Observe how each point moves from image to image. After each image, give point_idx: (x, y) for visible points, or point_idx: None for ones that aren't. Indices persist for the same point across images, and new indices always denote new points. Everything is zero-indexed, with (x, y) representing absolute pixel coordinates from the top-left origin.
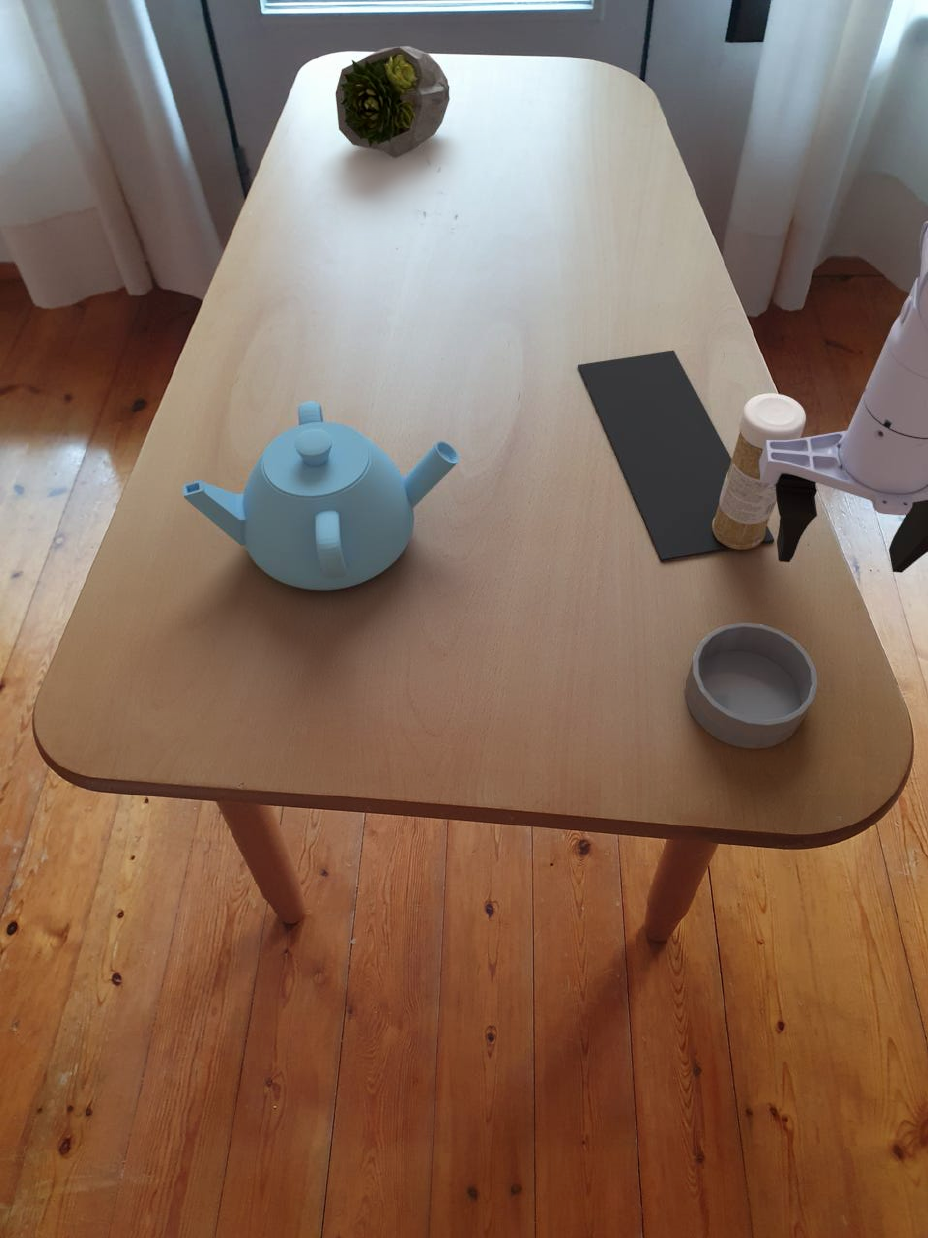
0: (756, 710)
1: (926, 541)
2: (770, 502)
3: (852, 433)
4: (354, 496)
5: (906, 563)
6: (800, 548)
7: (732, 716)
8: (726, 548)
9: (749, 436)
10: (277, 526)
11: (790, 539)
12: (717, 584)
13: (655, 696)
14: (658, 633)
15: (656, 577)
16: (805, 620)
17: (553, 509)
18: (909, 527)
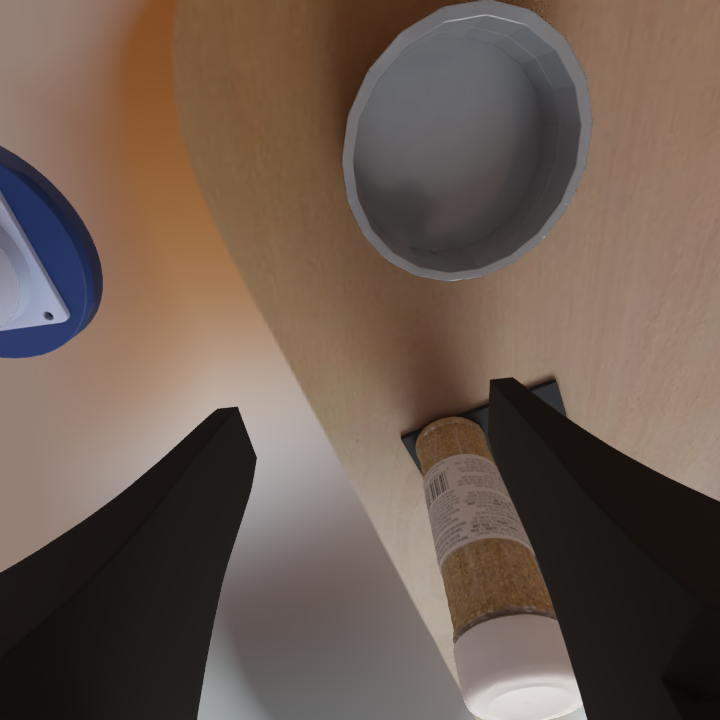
0: (428, 125)
1: (131, 518)
2: (445, 495)
3: None
4: None
5: (204, 431)
6: (366, 434)
7: (523, 10)
8: (464, 415)
9: None
10: None
11: (572, 435)
12: (477, 360)
13: (602, 115)
14: (576, 255)
15: (564, 353)
16: (353, 330)
17: (691, 425)
18: (210, 535)
